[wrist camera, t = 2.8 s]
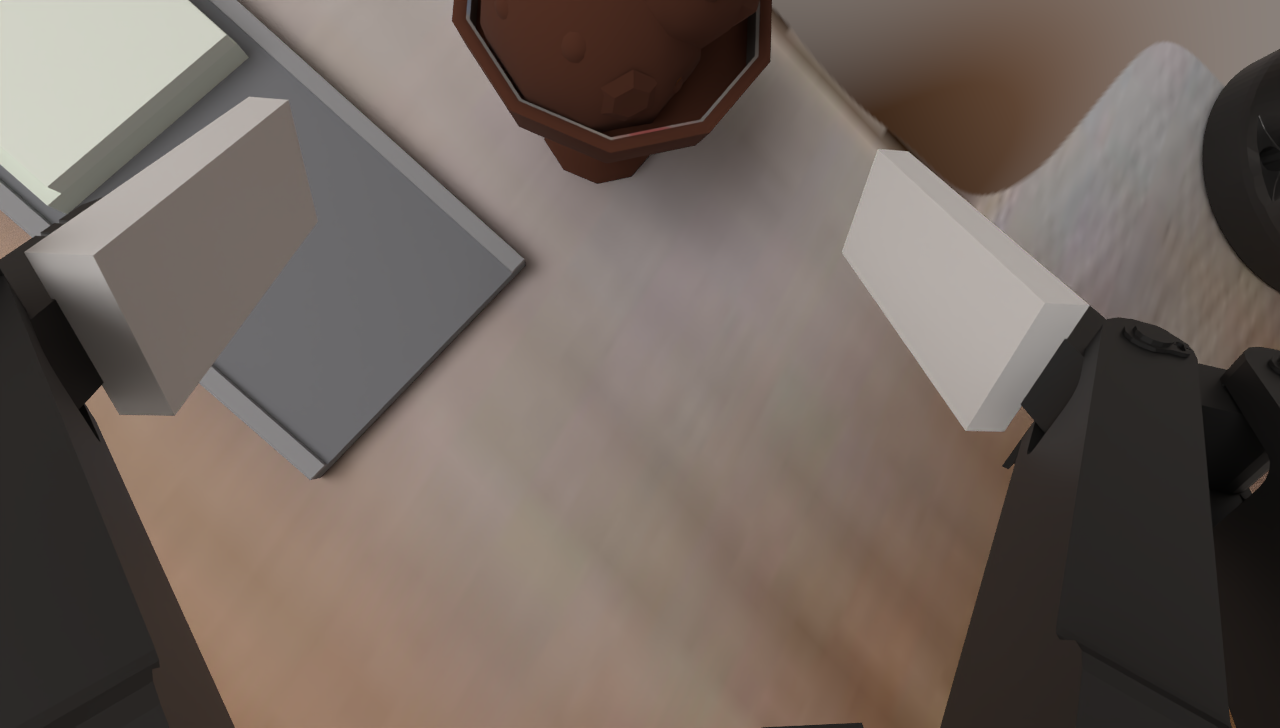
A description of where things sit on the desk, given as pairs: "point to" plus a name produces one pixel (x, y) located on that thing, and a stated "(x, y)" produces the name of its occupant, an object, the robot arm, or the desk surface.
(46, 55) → the pale green flat block
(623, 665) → the desk surface
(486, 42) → the ice cream bowl
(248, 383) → the tray
